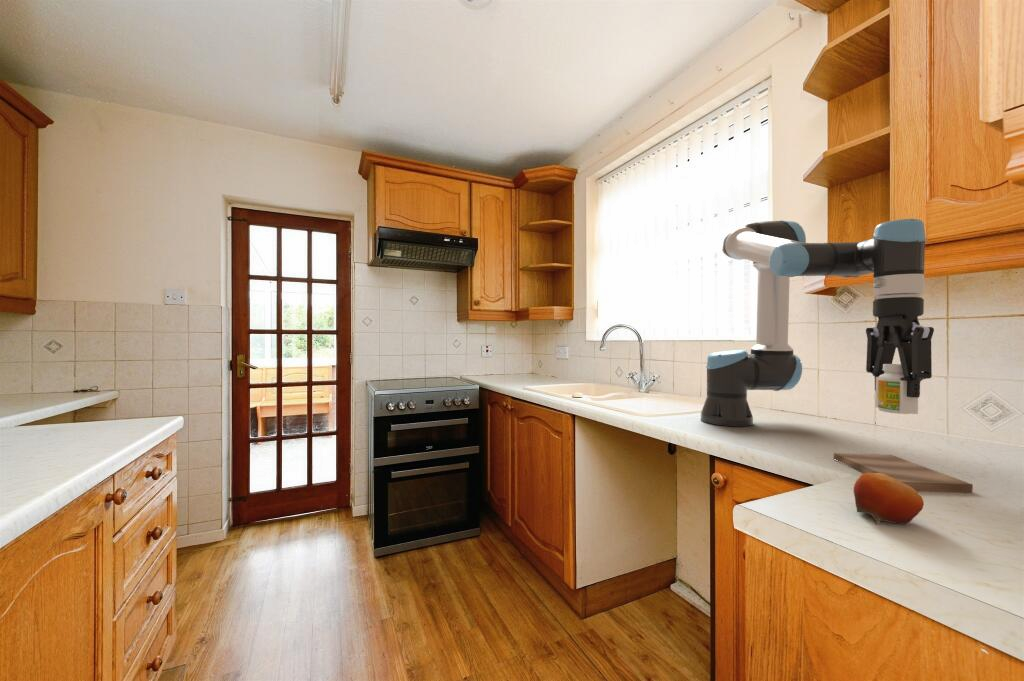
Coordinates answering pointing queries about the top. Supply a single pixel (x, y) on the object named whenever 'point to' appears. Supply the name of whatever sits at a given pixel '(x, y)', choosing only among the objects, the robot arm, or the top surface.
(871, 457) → the walnut board
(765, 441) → the top surface
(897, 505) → the fruit
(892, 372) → the supplement bottle
